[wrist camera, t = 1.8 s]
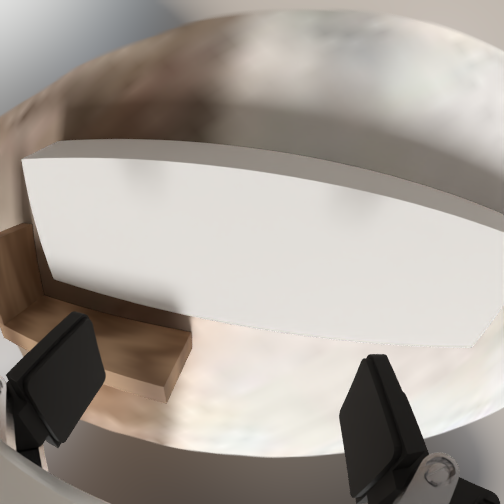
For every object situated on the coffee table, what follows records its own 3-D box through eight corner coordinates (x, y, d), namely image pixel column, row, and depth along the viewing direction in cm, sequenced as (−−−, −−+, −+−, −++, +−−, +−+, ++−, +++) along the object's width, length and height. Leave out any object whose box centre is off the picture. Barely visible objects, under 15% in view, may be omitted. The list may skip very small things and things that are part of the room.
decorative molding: (454, 307, 21) (504, 212, 15) (471, 347, 17) (538, 246, 11) (83, 246, 22) (65, 138, 17) (53, 279, 19) (21, 159, 13)
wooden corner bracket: (191, 242, 18) (152, 280, 12) (191, 348, 21) (166, 403, 15) (22, 222, 19) (-25, 242, 14) (37, 306, 22) (0, 335, 16)
